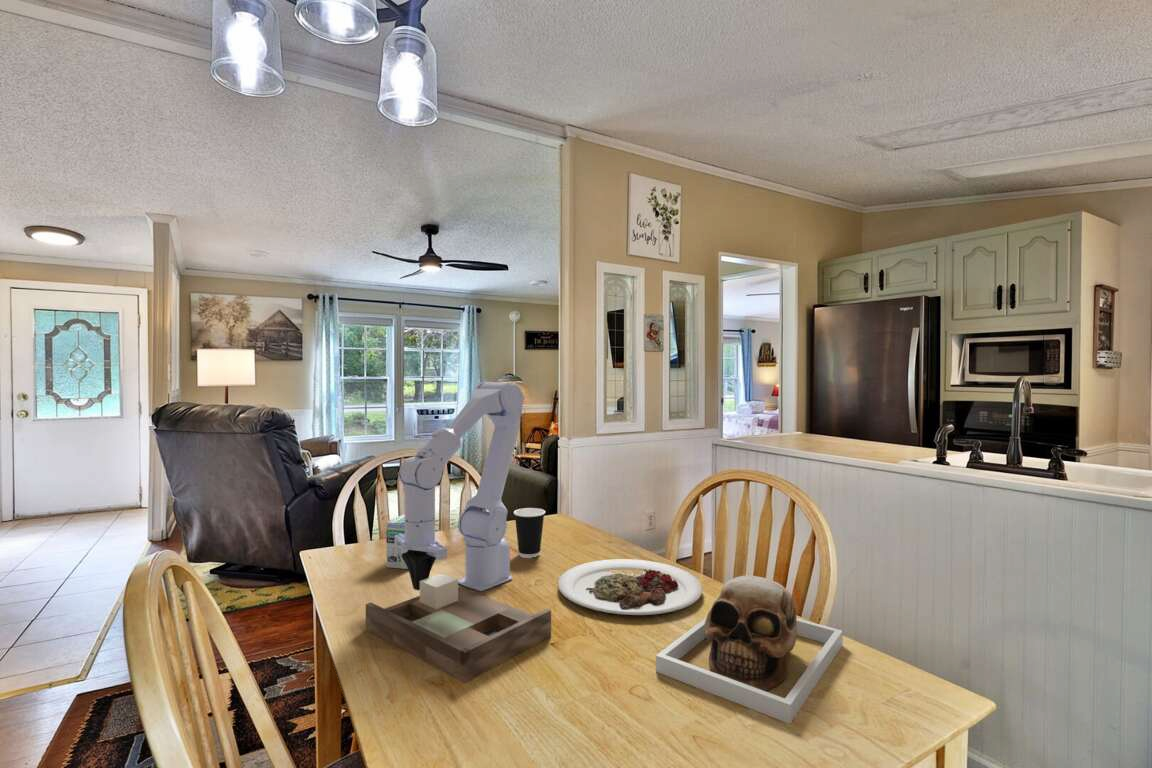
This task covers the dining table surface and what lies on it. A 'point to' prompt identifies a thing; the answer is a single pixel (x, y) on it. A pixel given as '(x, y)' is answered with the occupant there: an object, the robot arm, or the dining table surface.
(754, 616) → the brown skull figurine
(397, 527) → the light bulb box
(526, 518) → the dixie cup
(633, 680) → the dining table surface
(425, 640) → the brown wooden tray
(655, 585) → the plated food
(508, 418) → the robot arm
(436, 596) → the cream block
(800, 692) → the tray
